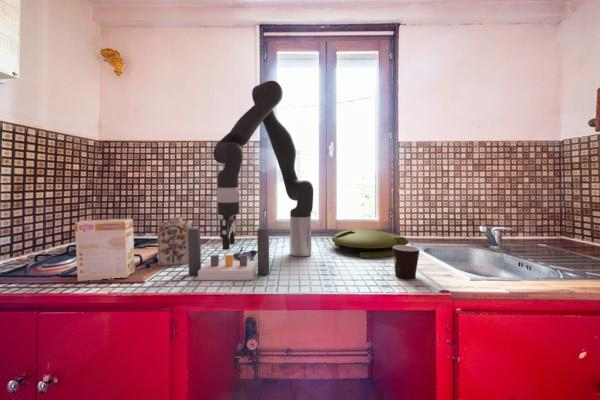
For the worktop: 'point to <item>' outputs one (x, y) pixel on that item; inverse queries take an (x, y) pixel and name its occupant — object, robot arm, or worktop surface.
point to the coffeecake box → (104, 249)
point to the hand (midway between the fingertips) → (228, 246)
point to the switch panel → (228, 269)
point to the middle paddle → (229, 260)
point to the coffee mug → (405, 261)
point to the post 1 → (194, 251)
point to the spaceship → (369, 241)
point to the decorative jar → (173, 242)
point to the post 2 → (263, 251)
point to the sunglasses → (249, 254)
